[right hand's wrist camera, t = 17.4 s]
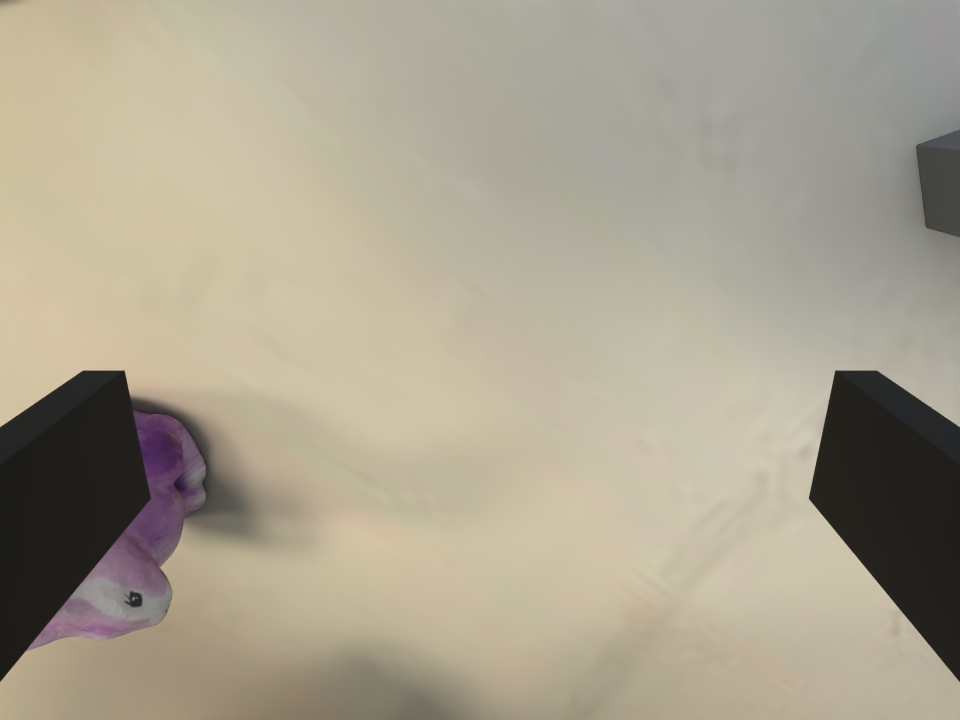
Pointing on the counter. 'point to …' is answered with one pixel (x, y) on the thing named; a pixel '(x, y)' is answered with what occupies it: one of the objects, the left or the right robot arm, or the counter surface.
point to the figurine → (139, 543)
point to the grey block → (941, 182)
